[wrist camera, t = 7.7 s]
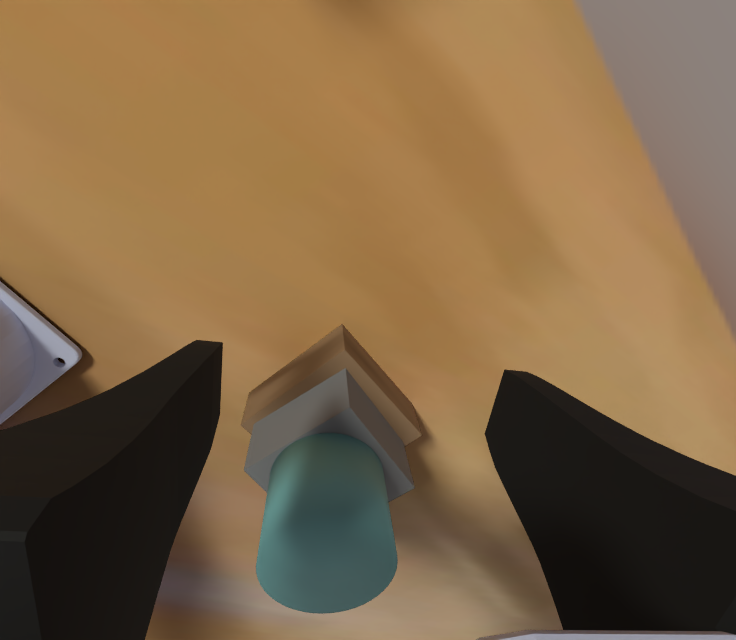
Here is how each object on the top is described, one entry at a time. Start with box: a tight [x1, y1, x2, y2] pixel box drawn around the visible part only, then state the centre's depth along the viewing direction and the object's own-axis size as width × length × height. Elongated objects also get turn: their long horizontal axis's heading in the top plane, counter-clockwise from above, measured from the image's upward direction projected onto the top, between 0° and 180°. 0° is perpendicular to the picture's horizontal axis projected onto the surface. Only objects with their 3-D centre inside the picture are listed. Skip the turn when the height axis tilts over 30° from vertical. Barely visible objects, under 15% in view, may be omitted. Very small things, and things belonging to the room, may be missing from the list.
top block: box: [244, 368, 415, 502], centre depth 20 cm, size 5×5×3 cm
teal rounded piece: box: [256, 433, 397, 613], centre depth 17 cm, size 5×5×4 cm
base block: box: [241, 324, 422, 447], centre depth 23 cm, size 6×6×3 cm
